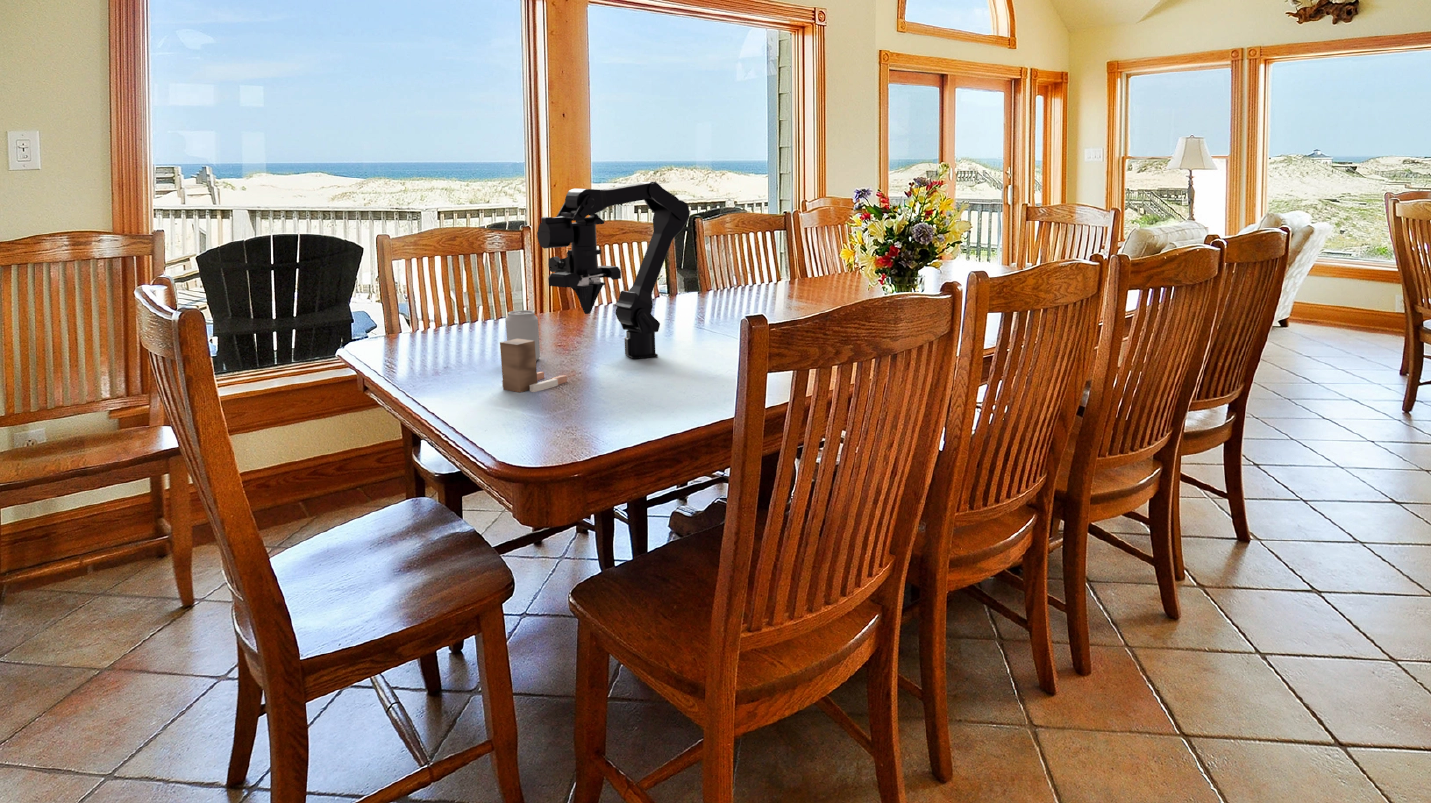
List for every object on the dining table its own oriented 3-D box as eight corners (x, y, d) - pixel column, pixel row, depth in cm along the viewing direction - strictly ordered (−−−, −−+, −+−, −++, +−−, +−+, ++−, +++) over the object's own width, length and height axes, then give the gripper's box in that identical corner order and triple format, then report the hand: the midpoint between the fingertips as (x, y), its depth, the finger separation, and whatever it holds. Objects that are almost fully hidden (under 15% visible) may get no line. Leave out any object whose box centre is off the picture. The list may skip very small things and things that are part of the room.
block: (520, 384, 204) (517, 338, 202) (537, 387, 201) (534, 340, 199) (503, 389, 200) (499, 342, 198) (520, 392, 197) (516, 344, 195)
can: (533, 365, 224) (530, 314, 221) (503, 364, 226) (499, 313, 223) (545, 358, 231) (542, 309, 228) (515, 357, 233) (512, 308, 230)
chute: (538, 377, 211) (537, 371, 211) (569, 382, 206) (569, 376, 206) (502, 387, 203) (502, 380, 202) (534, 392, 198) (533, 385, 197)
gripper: (585, 240, 228) (588, 305, 232) (528, 247, 214) (533, 316, 218) (621, 242, 222) (623, 309, 226) (565, 249, 207) (568, 320, 211)
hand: (587, 313), depth 220 cm, fingers closed
